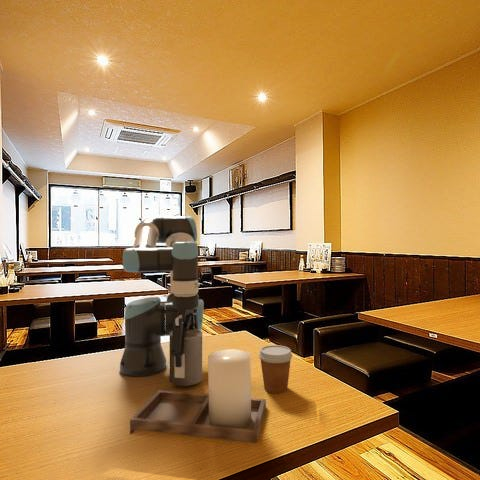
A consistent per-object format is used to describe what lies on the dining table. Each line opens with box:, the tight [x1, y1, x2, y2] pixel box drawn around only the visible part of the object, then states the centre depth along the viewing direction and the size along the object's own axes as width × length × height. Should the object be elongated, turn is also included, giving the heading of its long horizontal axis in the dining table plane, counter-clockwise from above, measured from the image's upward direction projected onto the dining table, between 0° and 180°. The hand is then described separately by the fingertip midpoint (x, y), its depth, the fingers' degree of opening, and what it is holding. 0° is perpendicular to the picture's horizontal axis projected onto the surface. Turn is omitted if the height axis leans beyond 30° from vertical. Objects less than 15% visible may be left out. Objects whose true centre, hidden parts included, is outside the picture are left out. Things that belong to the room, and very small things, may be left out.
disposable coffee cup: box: [258, 344, 293, 395], centre depth 95 cm, size 10×10×12 cm
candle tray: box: [129, 389, 267, 443], centre depth 80 cm, size 29×15×3 cm, turn 78°
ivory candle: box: [207, 348, 252, 429], centre depth 79 cm, size 10×10×15 cm
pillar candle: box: [168, 329, 203, 387], centre depth 99 cm, size 10×10×15 cm
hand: (186, 369), depth 99 cm, fingers closed on pillar candle, 10 cm apart
